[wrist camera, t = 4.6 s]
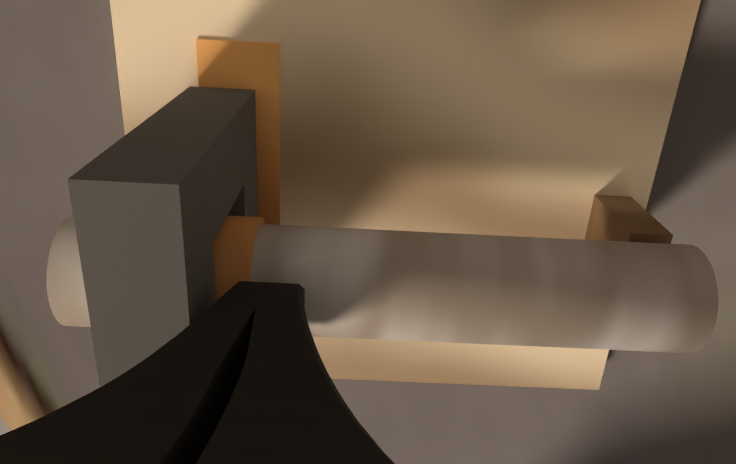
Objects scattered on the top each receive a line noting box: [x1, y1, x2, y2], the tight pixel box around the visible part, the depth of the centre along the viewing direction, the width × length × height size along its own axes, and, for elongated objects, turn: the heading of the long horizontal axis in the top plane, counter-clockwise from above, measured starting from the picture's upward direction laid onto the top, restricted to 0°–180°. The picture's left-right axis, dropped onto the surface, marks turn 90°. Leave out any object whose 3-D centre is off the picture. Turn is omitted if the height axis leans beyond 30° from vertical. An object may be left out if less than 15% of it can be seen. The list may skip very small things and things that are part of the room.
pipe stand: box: [47, 0, 718, 390], centre depth 15 cm, size 12×14×6 cm
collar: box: [68, 86, 258, 387], centre depth 13 cm, size 7×2×7 cm, turn 177°
